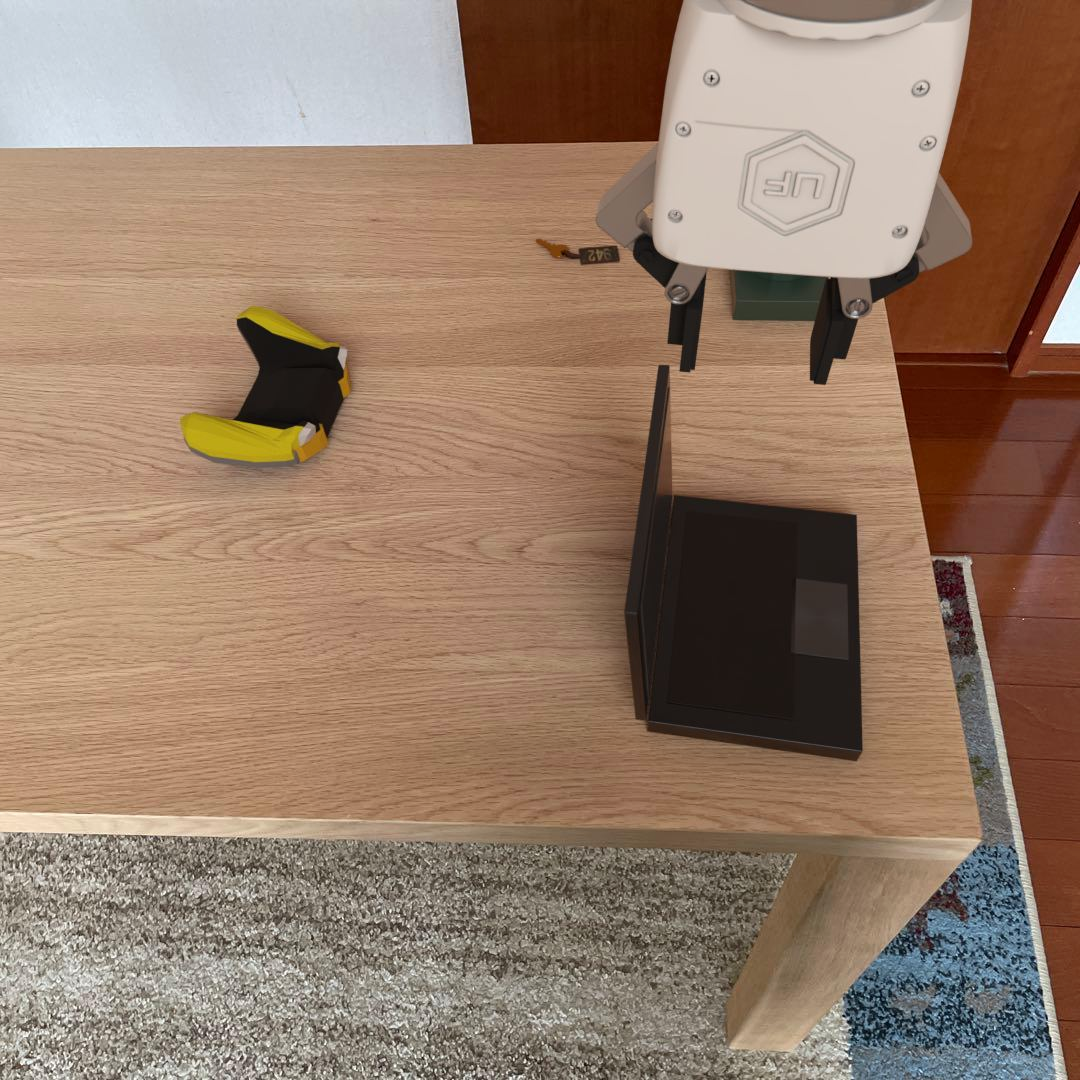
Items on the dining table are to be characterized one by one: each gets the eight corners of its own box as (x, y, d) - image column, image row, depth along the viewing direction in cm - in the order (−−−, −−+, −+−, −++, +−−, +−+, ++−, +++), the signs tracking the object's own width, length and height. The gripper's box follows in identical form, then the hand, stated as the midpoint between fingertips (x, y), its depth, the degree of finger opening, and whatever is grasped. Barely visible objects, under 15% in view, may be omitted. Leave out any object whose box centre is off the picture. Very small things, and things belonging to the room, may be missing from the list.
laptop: (851, 527, 68) (857, 513, 66) (856, 761, 58) (863, 751, 56) (672, 507, 69) (673, 493, 68) (646, 731, 59) (648, 720, 58)
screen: (671, 364, 58) (658, 364, 58) (639, 614, 47) (623, 612, 48) (673, 494, 68) (662, 493, 68) (648, 721, 58) (635, 720, 58)
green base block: (726, 232, 87) (731, 195, 84) (813, 233, 87) (821, 195, 83) (732, 320, 80) (739, 283, 77) (827, 321, 80) (837, 284, 77)
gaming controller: (190, 478, 73) (310, 494, 71) (164, 431, 68) (292, 448, 67) (260, 345, 81) (369, 358, 80) (241, 295, 77) (356, 308, 75)
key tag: (622, 247, 87) (622, 241, 86) (618, 268, 85) (618, 262, 84) (535, 240, 88) (535, 234, 87) (530, 260, 86) (529, 255, 86)
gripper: (547, -19, 28) (561, 398, 43) (1152, 3, 26) (947, 435, 41) (583, -122, 32) (584, 290, 47) (1107, -111, 30) (935, 319, 45)
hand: (753, 354), depth 44 cm, fingers open, 5 cm apart
